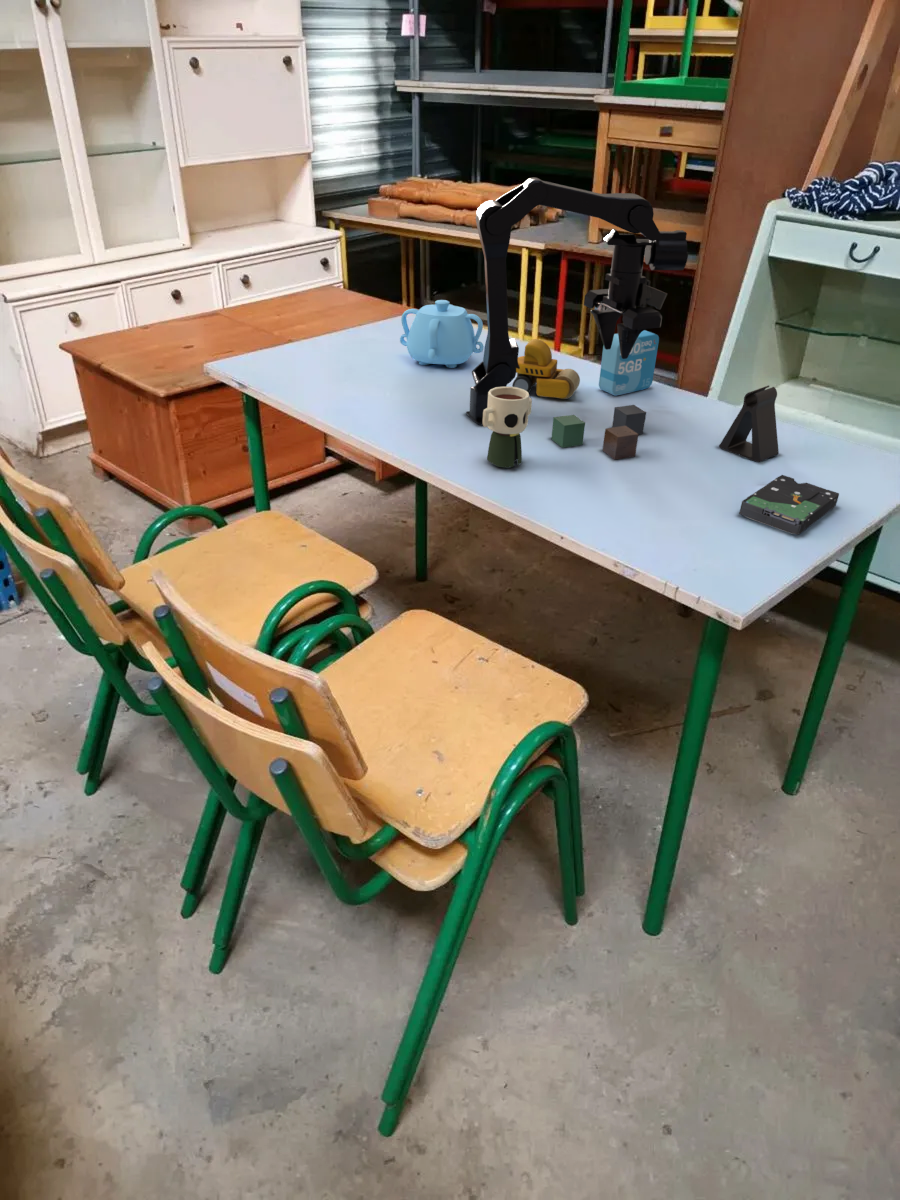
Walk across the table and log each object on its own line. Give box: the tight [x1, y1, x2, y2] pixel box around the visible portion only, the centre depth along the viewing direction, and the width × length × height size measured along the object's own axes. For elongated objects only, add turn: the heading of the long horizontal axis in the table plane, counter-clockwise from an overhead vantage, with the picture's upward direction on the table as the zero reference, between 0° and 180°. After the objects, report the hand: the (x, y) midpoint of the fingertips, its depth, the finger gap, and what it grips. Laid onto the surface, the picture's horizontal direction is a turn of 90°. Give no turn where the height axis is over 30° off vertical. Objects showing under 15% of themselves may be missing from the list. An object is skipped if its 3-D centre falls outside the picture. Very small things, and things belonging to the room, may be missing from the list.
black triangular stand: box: [718, 385, 780, 463], centre depth 161 cm, size 9×6×12 cm, turn 40°
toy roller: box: [512, 338, 581, 400], centre depth 186 cm, size 9×14×10 cm, turn 71°
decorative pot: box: [399, 299, 485, 369], centre depth 201 cm, size 16×16×14 cm
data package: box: [598, 329, 660, 397], centre depth 188 cm, size 12×4×12 cm, turn 123°
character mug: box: [482, 386, 533, 468], centre depth 153 cm, size 11×7×13 cm, turn 128°
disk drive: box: [738, 474, 840, 536], centre depth 143 cm, size 10×3×15 cm
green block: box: [550, 414, 586, 449], centre depth 164 cm, size 4×4×4 cm
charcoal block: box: [611, 404, 647, 435], centre depth 170 cm, size 4×4×4 cm
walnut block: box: [602, 426, 639, 461], centre depth 160 cm, size 4×4×4 cm
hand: (616, 353), depth 170 cm, fingers open, 6 cm apart
